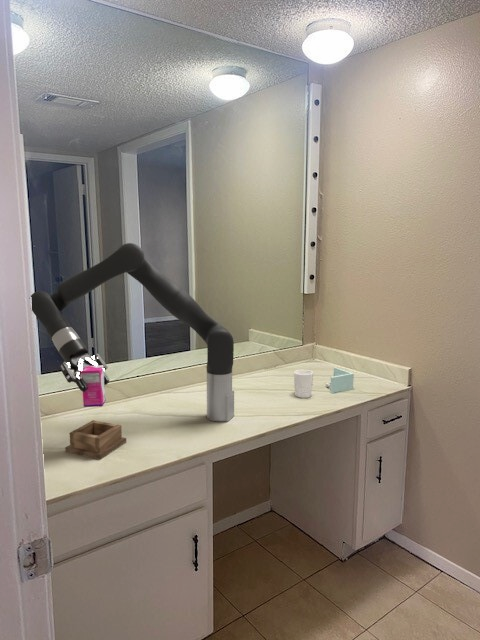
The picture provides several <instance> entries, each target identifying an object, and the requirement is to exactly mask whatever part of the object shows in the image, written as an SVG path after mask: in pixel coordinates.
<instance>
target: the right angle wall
mask: <svg viewBox="0 0 480 640" xmlns="http://www.w3.org/2000/svg"><path fill="white" fill-rule="evenodd" d="M354 377H355V374H354V373H353V372H351V371H347V370H344V369H341V368H338V367H336V366H334V367H333V375H332V376H330V381H329V382H326V383H325V387H326V388H327V387H329V388H330V389H329V388H328V389H329V393H330V394H336V393H341V392H345V390H346V391H350V390H349V389H351V390H353V389H354ZM340 391H341V392H340ZM335 392H336V393H335Z"/></svg>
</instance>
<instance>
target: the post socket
mask: <svg viewBox="0 0 480 640" xmlns="http://www.w3.org/2000/svg"><path fill="white" fill-rule="evenodd" d="M122 433H123V432H122V425H121V424H116V423H111V422H105V421H99V420H93V419H92V420H91V421H88V422H87V423H85V424H83V425H81V426H79V427H78V428H76V429H74V430H72V431H70V432H69V445H67V446H65V447H64V448H65V449H64V451H65V453H68V454H73V455H78V456H83V457H88V458H93V459H96V460H102V459H104V458H105V457H107V456H108V455H110V454H112V453H113V452H114V451H116V450H117V449H119V448H120V447H121V446H123V445H125V444H126V443H127V437H123V435H122Z"/></svg>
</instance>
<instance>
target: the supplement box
mask: <svg viewBox="0 0 480 640" xmlns="http://www.w3.org/2000/svg"><path fill="white" fill-rule="evenodd" d="M81 378H82V379H83V381H84V382H85V384H86V385H87V387H88V389H87V390H86V391H85V392H82V403H83V407H84V408H86V407H87V408H89V407H90V408H91V407H93V408H94V407H95V408H96V407H99V408H100V407H103V406H104V404H105V403H106V401H107V398H106V388H105V387H106V385H105V383H104V368H103V365H99V366H93V365H92V366H88V367H85V368H83V370H82V371H81Z"/></svg>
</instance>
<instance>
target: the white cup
mask: <svg viewBox="0 0 480 640" xmlns="http://www.w3.org/2000/svg"><path fill="white" fill-rule="evenodd" d="M293 379H294V380H293V383H294V386H293V387H294V396H295V397H296V398H303V399H306V398H310V397H312V390H313V384H314V383H313V381H314V371H312V370H309V369H296V370H294V372H293Z"/></svg>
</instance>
